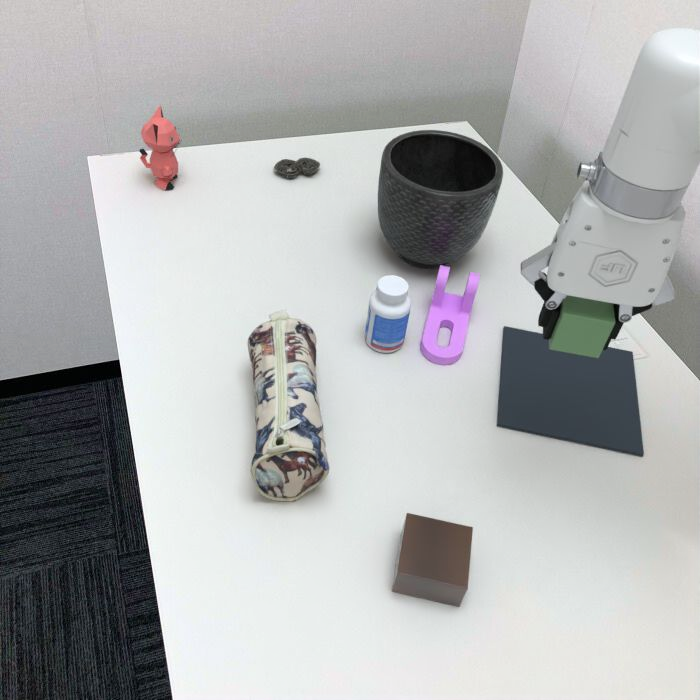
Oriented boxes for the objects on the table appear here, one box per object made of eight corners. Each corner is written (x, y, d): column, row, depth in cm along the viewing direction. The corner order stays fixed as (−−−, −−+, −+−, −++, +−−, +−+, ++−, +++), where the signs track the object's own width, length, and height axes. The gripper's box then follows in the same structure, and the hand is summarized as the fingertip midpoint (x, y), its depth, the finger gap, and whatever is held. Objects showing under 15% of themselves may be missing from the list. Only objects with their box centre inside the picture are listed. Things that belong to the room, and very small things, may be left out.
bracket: (433, 297, 107) (441, 259, 102) (470, 305, 106) (481, 268, 101) (417, 359, 98) (425, 321, 93) (458, 368, 97) (469, 331, 92)
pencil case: (327, 503, 81) (335, 451, 74) (250, 506, 80) (249, 453, 73) (313, 358, 96) (317, 303, 89) (247, 359, 95) (246, 304, 88)
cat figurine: (181, 195, 118) (175, 127, 110) (138, 191, 118) (128, 123, 109) (188, 171, 123) (183, 104, 115) (147, 167, 123) (138, 100, 114)
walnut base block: (465, 546, 79) (473, 526, 76) (459, 607, 74) (467, 589, 71) (401, 532, 80) (406, 512, 77) (391, 591, 75) (396, 573, 72)
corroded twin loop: (323, 176, 126) (324, 171, 125) (278, 181, 123) (278, 175, 123) (315, 160, 129) (315, 155, 128) (270, 165, 127) (270, 159, 126)
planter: (466, 300, 107) (491, 209, 96) (354, 268, 110) (366, 175, 98) (488, 234, 119) (513, 146, 107) (387, 207, 121) (401, 118, 110)
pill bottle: (411, 345, 100) (423, 291, 93) (379, 359, 97) (389, 305, 90) (388, 320, 102) (397, 266, 95) (356, 333, 100) (363, 279, 93)
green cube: (595, 324, 78) (611, 289, 74) (598, 358, 74) (615, 322, 71) (548, 316, 78) (561, 280, 74) (549, 349, 74) (563, 313, 71)
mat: (631, 354, 102) (632, 351, 102) (642, 456, 90) (644, 454, 90) (503, 328, 104) (504, 325, 103) (496, 426, 91) (497, 423, 91)
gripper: (539, 192, 61) (490, 345, 74) (748, 227, 60) (661, 376, 73) (538, 146, 66) (492, 297, 79) (730, 177, 65) (652, 325, 78)
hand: (574, 334), depth 76 cm, fingers closed on green cube, 5 cm apart
